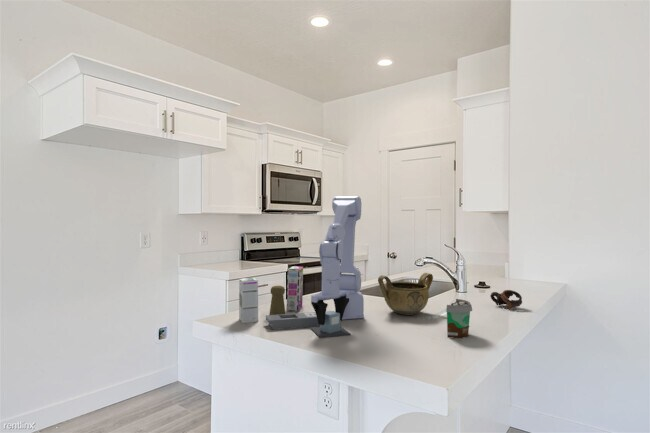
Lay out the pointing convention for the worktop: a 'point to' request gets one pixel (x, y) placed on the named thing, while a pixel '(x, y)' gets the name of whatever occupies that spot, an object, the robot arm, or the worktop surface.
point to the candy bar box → (294, 288)
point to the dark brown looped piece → (507, 299)
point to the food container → (458, 318)
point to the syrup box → (248, 300)
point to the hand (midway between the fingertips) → (330, 322)
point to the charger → (331, 322)
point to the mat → (325, 334)
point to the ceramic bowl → (406, 294)
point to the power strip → (292, 320)
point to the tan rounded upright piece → (277, 300)
